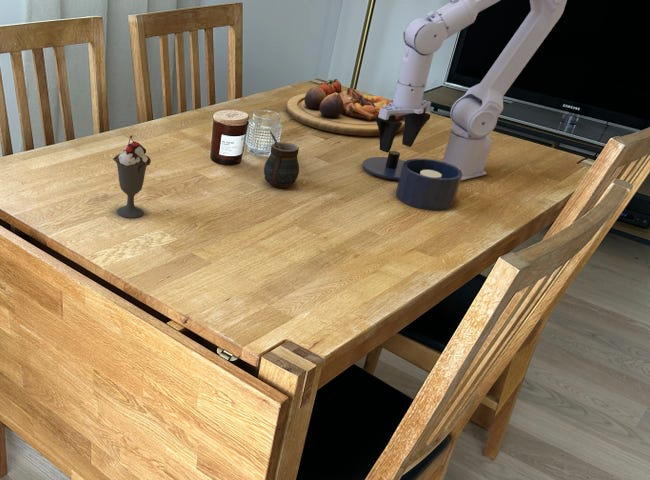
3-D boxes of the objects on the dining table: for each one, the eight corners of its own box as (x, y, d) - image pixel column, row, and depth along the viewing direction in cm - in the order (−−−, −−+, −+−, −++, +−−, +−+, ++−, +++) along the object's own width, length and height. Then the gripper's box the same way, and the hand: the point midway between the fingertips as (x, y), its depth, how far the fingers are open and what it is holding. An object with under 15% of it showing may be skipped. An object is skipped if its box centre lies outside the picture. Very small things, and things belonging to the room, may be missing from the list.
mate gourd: (289, 194, 146) (297, 145, 140) (254, 184, 149) (261, 136, 143) (302, 183, 151) (310, 135, 146) (268, 174, 154) (275, 127, 148)
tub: (424, 191, 151) (431, 168, 148) (439, 199, 148) (446, 175, 145) (409, 194, 149) (416, 171, 146) (424, 202, 146) (431, 178, 143)
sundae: (121, 222, 130) (123, 139, 121) (106, 207, 135) (107, 127, 126) (154, 217, 133) (158, 136, 124) (138, 203, 138) (141, 124, 129)
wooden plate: (430, 122, 192) (438, 90, 188) (366, 147, 173) (374, 112, 168) (329, 93, 210) (334, 63, 205) (261, 112, 190) (265, 80, 185)
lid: (388, 158, 167) (392, 140, 165) (430, 177, 159) (435, 158, 157) (349, 166, 161) (353, 147, 159) (391, 186, 153) (396, 166, 151)
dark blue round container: (421, 184, 155) (429, 155, 152) (464, 204, 148) (474, 174, 144) (384, 193, 150) (391, 163, 146) (427, 214, 142) (436, 183, 139)
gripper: (404, 92, 143) (388, 159, 151) (449, 84, 151) (431, 148, 159) (377, 83, 147) (362, 148, 155) (421, 75, 155) (405, 138, 163)
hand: (395, 148), depth 157 cm, fingers open, 7 cm apart
